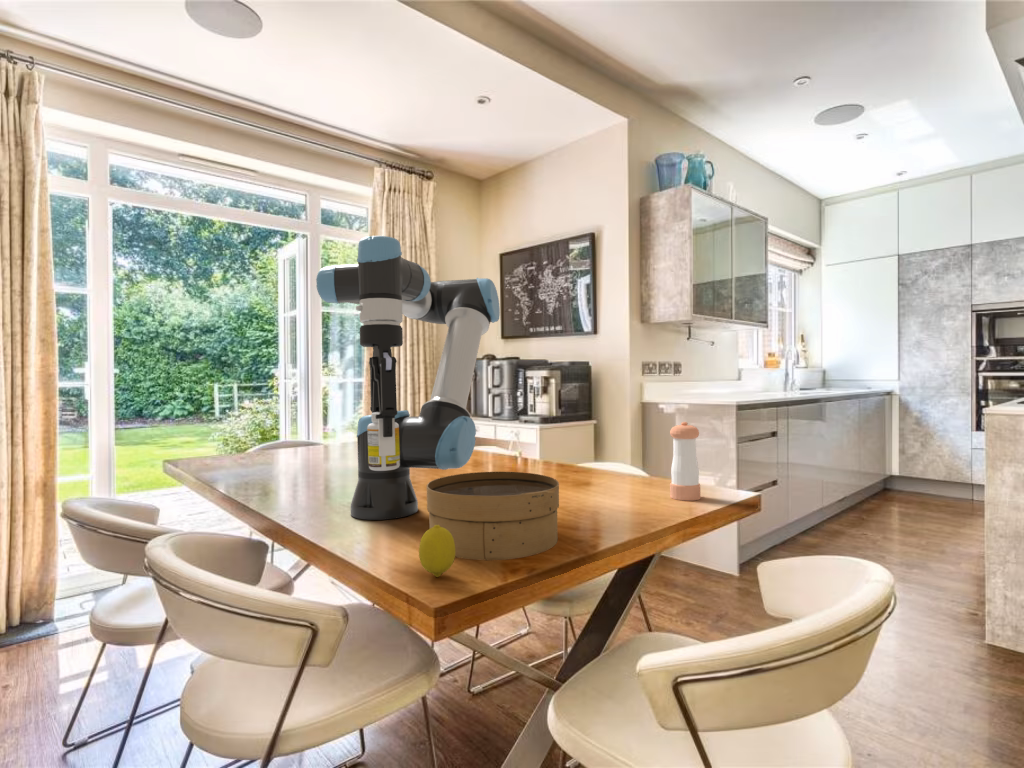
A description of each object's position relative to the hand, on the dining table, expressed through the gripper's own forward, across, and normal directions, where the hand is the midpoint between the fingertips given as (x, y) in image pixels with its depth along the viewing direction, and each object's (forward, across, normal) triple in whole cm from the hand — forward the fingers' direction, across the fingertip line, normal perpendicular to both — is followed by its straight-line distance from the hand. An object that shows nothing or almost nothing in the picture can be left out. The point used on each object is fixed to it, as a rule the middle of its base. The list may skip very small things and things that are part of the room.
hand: (384, 452), depth 98 cm
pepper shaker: (+18, -9, +76) cm, 79 cm away
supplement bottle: (+3, 0, 0) cm, 3 cm away
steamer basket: (+18, +4, +20) cm, 27 cm away
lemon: (+17, +19, +4) cm, 26 cm away
